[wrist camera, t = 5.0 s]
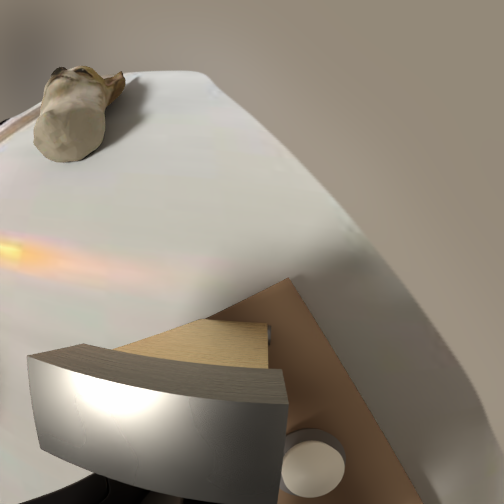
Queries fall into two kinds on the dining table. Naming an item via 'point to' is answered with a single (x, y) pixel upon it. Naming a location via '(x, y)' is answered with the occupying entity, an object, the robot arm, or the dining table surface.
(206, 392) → the tan capped bar
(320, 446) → the push button
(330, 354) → the switch panel
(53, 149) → the ceramic sculpture
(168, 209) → the dining table surface
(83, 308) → the dining table surface
